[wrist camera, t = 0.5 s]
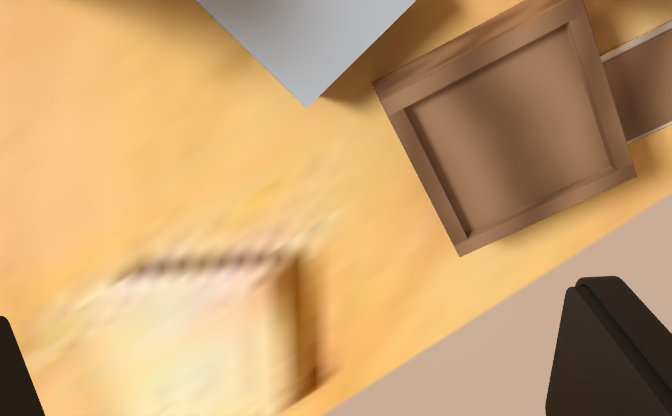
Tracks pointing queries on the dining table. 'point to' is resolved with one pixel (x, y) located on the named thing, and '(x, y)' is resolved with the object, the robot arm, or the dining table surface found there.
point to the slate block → (306, 36)
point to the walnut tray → (509, 121)
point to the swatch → (642, 82)
